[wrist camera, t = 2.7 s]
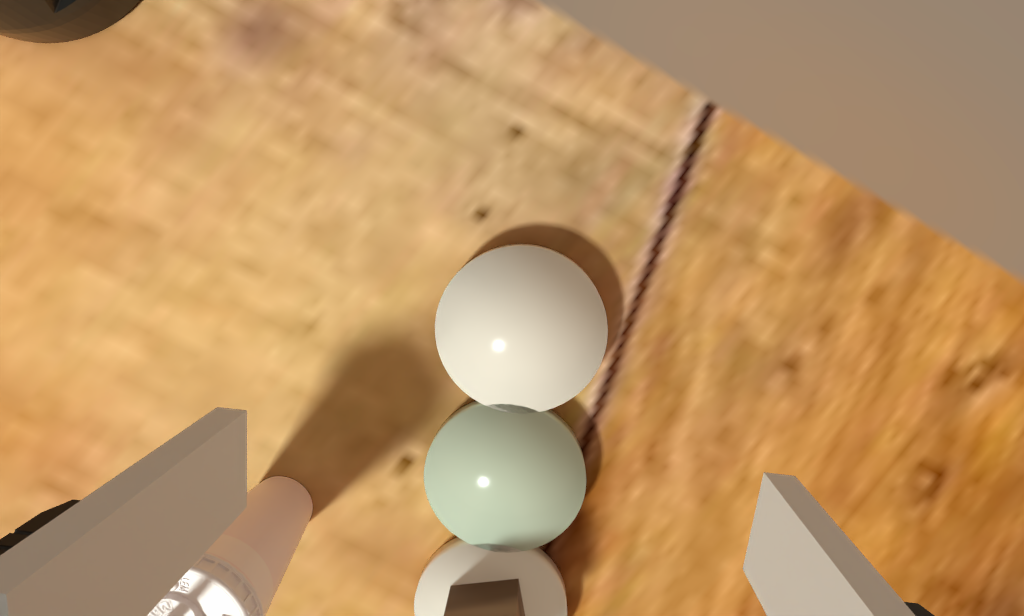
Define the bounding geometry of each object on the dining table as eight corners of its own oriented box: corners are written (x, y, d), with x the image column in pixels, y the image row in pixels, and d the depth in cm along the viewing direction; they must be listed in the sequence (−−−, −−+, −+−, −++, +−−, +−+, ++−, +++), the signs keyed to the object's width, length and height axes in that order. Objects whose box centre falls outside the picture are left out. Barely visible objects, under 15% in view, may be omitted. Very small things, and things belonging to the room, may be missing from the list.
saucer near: (445, 234, 30) (441, 236, 29) (616, 253, 29) (619, 256, 28) (433, 395, 32) (429, 403, 31) (593, 414, 31) (595, 422, 30)
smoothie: (262, 434, 33) (62, 612, 19) (355, 494, 33) (225, 710, 20) (211, 513, 34) (-11, 733, 20) (301, 570, 35) (143, 822, 21)
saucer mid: (433, 386, 32) (429, 394, 30) (594, 405, 31) (596, 414, 30) (422, 529, 34) (418, 542, 32) (574, 548, 33) (575, 561, 32)
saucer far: (423, 522, 33) (419, 534, 32) (575, 541, 33) (576, 553, 32) (413, 650, 35) (409, 665, 34) (557, 668, 35) (557, 685, 34)
